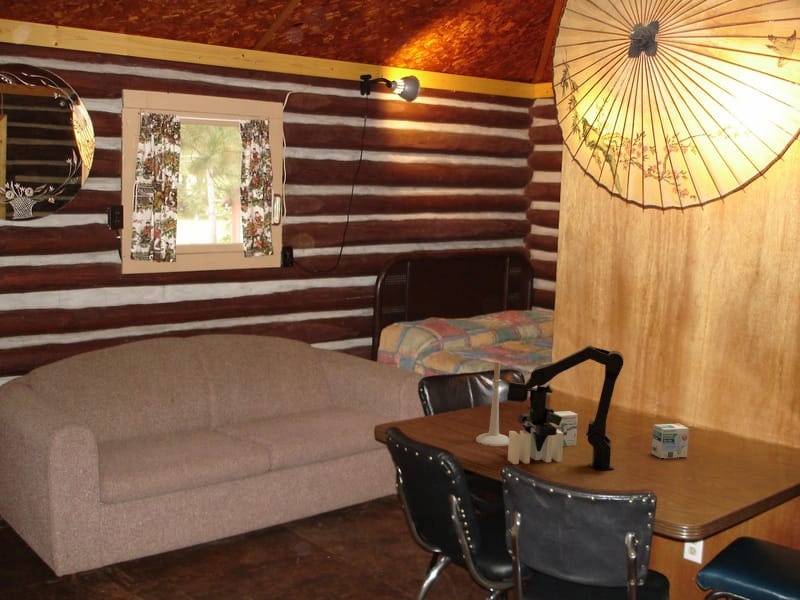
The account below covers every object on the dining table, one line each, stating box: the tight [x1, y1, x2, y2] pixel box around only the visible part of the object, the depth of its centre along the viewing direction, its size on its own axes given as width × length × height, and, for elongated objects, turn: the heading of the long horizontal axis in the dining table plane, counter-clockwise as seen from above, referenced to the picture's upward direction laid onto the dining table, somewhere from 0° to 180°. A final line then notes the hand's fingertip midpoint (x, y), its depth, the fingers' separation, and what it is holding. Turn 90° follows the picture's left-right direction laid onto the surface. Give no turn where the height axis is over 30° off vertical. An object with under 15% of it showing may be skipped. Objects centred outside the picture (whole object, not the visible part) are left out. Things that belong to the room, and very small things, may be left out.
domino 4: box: [540, 435, 553, 463], centre depth 306 cm, size 5×2×10 cm, turn 16°
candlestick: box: [475, 360, 509, 447], centre depth 326 cm, size 13×13×30 cm
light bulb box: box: [651, 423, 690, 459], centre depth 317 cm, size 11×7×11 cm, turn 105°
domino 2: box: [519, 430, 531, 465], centre depth 304 cm, size 5×2×10 cm, turn 16°
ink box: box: [550, 410, 579, 447], centre depth 326 cm, size 9×5×12 cm, turn 117°
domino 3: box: [530, 427, 541, 461], centre depth 305 cm, size 5×2×10 cm, turn 16°
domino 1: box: [507, 430, 520, 465], centre depth 303 cm, size 5×2×10 cm, turn 16°
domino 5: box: [551, 429, 564, 463], centre depth 307 cm, size 5×2×10 cm, turn 16°
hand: (535, 449), depth 305 cm, fingers closed on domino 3, 5 cm apart
